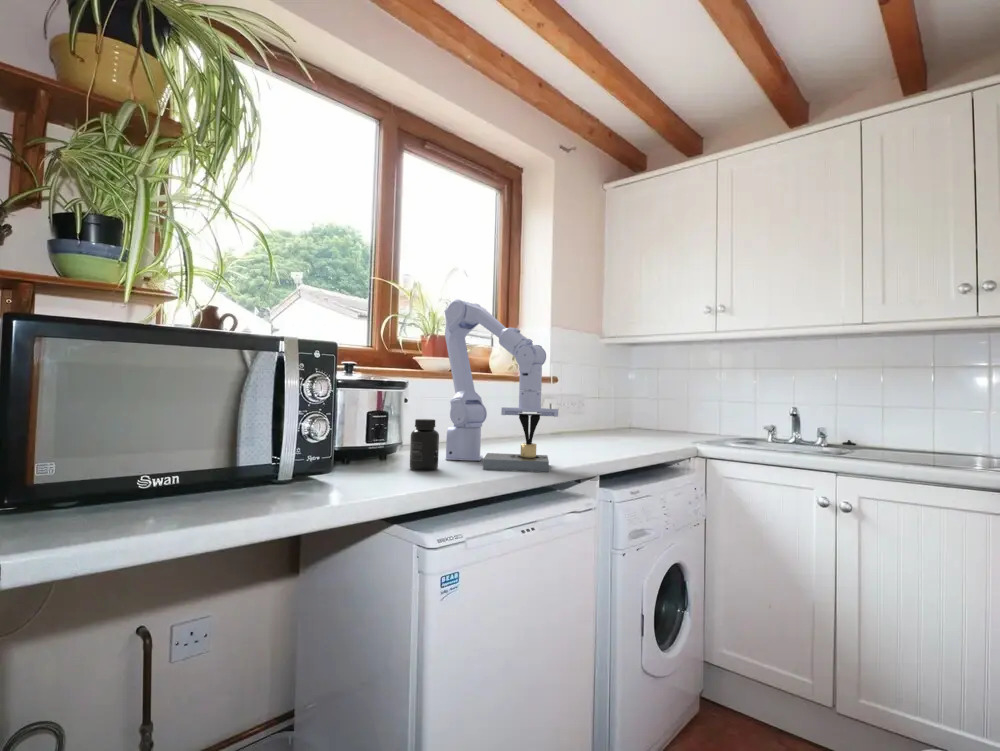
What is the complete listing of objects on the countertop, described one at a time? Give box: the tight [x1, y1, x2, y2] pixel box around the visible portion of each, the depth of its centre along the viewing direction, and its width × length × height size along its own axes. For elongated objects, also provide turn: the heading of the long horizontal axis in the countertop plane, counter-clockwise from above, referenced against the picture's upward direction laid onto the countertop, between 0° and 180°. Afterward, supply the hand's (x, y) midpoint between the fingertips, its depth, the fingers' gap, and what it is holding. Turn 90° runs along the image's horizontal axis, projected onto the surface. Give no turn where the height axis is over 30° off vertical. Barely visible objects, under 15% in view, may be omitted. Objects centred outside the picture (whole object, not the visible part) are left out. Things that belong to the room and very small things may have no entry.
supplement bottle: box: [409, 418, 440, 472], centre depth 126 cm, size 7×7×12 cm
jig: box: [482, 452, 550, 473], centre depth 134 cm, size 16×12×2 cm
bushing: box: [520, 442, 537, 459], centre depth 134 cm, size 4×4×6 cm
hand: (528, 444), depth 134 cm, fingers closed, pressing on bushing
